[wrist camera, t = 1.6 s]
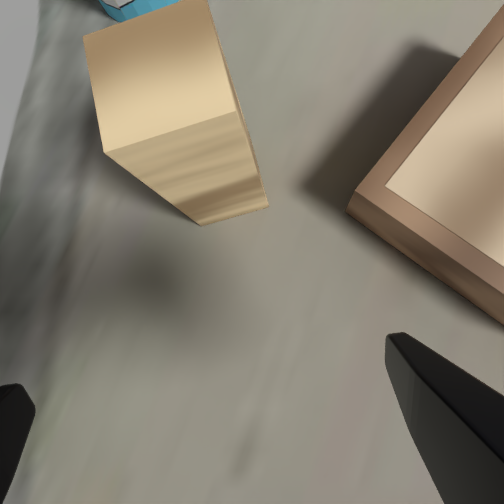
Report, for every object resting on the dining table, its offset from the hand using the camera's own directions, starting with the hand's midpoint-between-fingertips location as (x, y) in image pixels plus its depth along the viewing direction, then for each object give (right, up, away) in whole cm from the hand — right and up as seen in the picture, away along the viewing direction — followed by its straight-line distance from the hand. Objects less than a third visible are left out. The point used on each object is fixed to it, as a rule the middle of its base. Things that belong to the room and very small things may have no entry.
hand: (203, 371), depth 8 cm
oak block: (0, +7, +14) cm, 16 cm away
